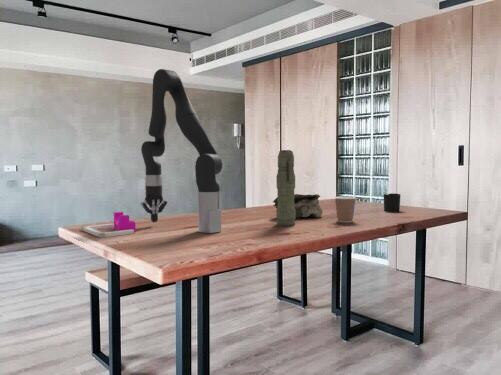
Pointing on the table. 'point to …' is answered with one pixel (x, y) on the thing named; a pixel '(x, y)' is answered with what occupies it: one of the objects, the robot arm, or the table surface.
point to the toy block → (123, 222)
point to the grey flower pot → (345, 208)
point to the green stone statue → (285, 189)
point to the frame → (107, 234)
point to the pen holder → (392, 202)
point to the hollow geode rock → (305, 205)
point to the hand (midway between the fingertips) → (154, 221)
